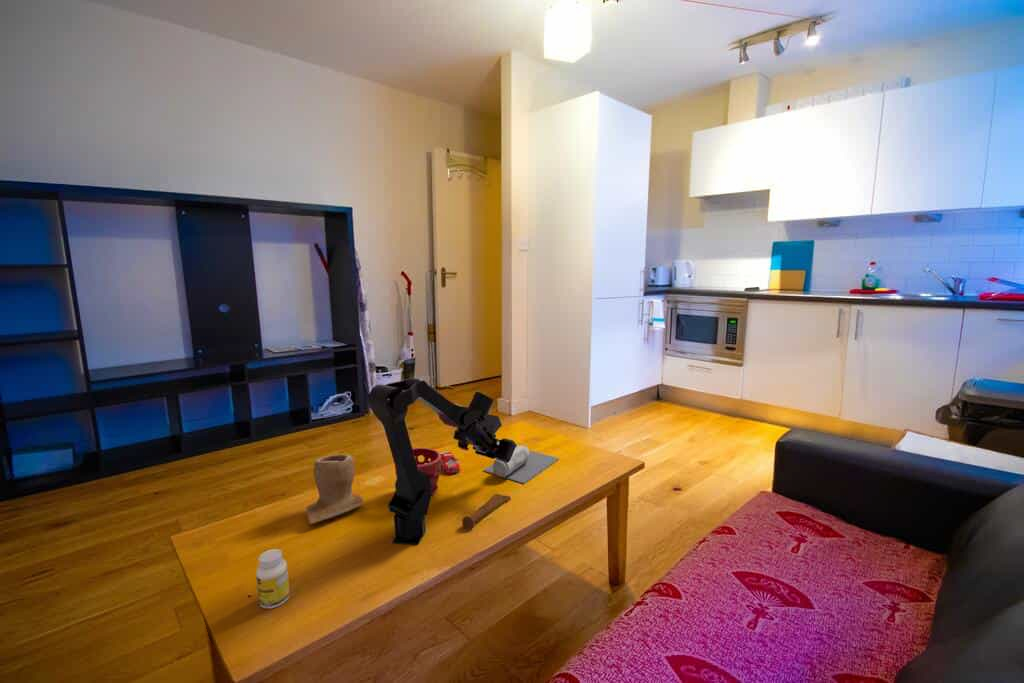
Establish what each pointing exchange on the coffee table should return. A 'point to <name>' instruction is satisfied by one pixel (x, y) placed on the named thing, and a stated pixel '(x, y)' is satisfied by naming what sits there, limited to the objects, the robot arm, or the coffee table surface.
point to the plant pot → (428, 465)
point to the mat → (529, 467)
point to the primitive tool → (485, 510)
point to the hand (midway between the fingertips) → (498, 456)
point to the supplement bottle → (272, 579)
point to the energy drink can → (512, 462)
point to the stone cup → (333, 488)
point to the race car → (449, 463)
